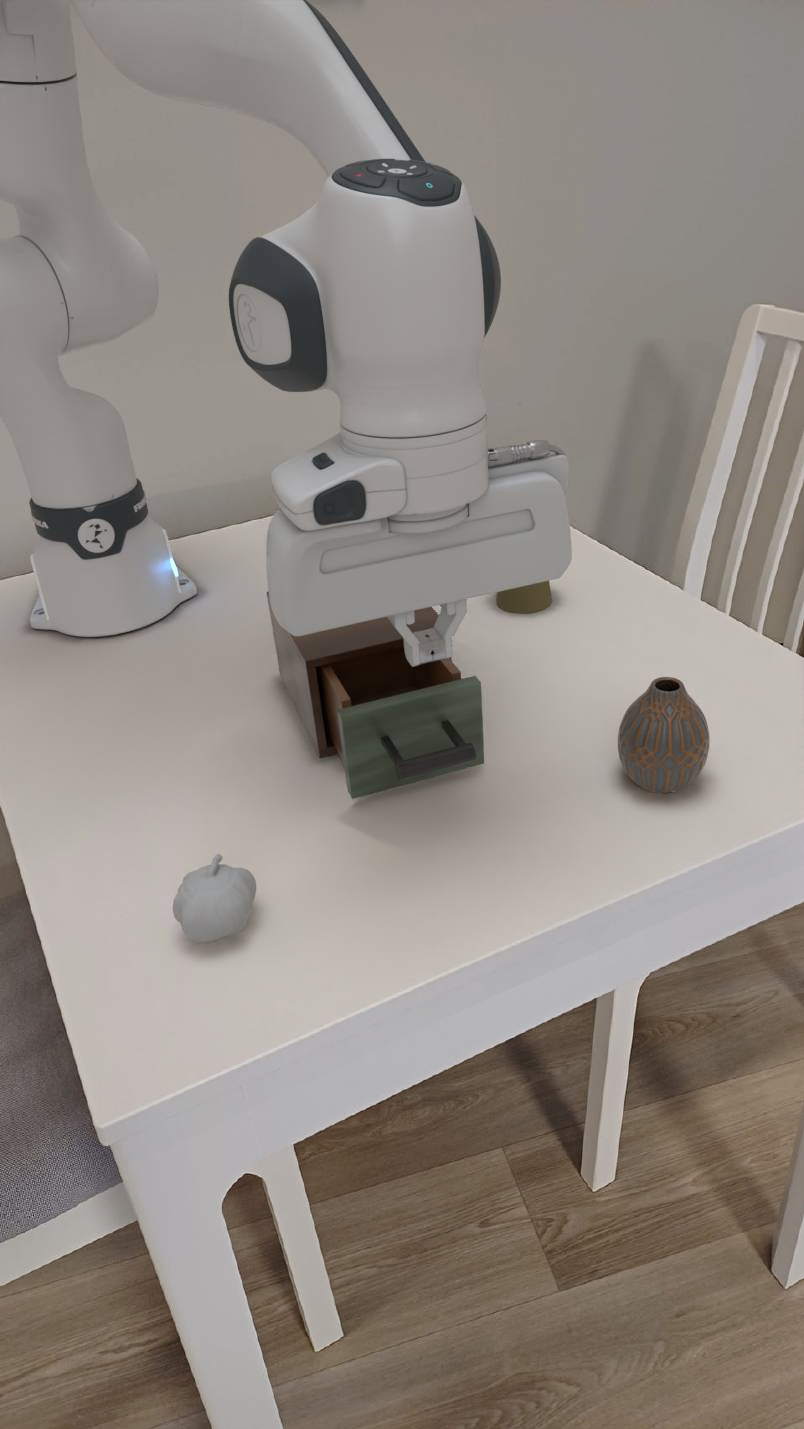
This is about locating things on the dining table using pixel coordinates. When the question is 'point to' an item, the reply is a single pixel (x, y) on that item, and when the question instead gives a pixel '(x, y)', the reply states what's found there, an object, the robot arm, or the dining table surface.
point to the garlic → (214, 901)
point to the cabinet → (332, 661)
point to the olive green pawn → (525, 598)
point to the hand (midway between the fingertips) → (428, 658)
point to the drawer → (400, 719)
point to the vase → (663, 738)
